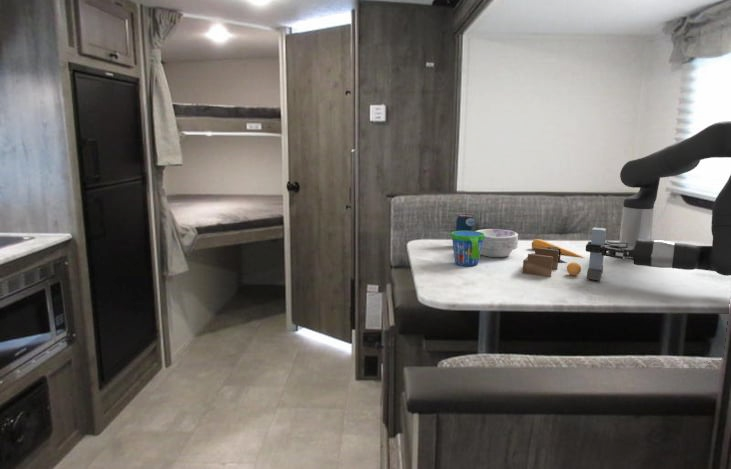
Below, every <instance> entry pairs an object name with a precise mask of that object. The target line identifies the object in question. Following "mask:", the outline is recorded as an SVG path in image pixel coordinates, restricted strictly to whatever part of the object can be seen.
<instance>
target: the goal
mask: <svg viewBox="0 0 731 469" xmlns="http://www.w3.org/2000/svg"><path fill="white" fill-rule="evenodd" d="M558 257H559V250H554V249H545V248H537V247H536V248H535V250H534V253H533V252H531V253H528V254H527V257H525V258H524V259H523V262H522V263H523V264H522V274H527V275H534V276H541V277H547V278H551V277H552V270H558V267H559V263H558Z"/></svg>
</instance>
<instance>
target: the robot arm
mask: <svg viewBox="0 0 731 469" xmlns="http://www.w3.org/2000/svg"><path fill="white" fill-rule="evenodd" d="M710 158H711V159H712V158H717V159H718V158H721V159H722V158H731V121H730V120H724V121H723V120H721V121H717V122H713V123H712V124H710V125H708V126H706V127H705V128H704V129H702V130H700V131H698V132H697V133H695V134H693V135H692V136H690V137H687V138H684V139H682V140H680V141H677V142H675V143H672V144H670V145H668V146H665V147H664V148H662V149H659V150H658V151H655V152H653V153H650V154H649V155H646V156H643V157H640V158H636V159H632V160H628V161H627V162H626V163H625V164H624V165H623V166H622V168H621V170H620V174H619V178H620V181H621V183H622V184H623V185H624V186H626V187H629V188H637V189H638V188H639V190H638V191H637V192H636V193H635V194H633V195H630V196H627V197H625V198H624V200H623V204H622V205H623V206H622V215H621V223H620V225H621V226H620V233H619V240H618V241H613V240H612V241H608V240H605V245H594V244H591V240H590V241H588V242H587V243H586V245H585V251H586V252H588V253H590V252H595V253H600V254H601V255H602V256H604V257H608V258H613V259H619V260H624V259H626V258H629V259H633V261H632V263H633V264H634V266H641V267H649V268H650V267H651V268H661V269H662V268H663V269H677V270H684V271H685V270H687V271H690V270H692V271H693V270H703V271H710V272H711V271H712V272H716V274H718V275H722V276H726V277H728V276H731V174H730V175H729V177H728V179H727V181H726V183H725V184H724V186H723V187H722V189H721V190H720V191H719V192H718V194H717V196H716V198H715V200H714V202H713V205H712V211H711V227H710V228H711V234H712V243H711V245H697V244H696V245H695V244H689V243H684V242H682V243H681V242H672V241H667V240H658V239H651V232H652V224H653V216H654V215H653V214H654V208H655V206H654V205H655V203H656V200H657V197H658V196H657V195H658V191H659V186H660V181H661V180H660V179H661V178H669V177H676V176H679V175H683V174H686V173H688V172H691V171H692V170H694V169H695V168H697V167H698V166H699V164H700V161H702V160H706V159H710Z"/></svg>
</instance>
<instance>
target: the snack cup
mask: <svg viewBox="0 0 731 469" xmlns="http://www.w3.org/2000/svg"><path fill="white" fill-rule="evenodd" d="M450 237H451V240H452V249H453V257H454V263H455V264H457V265H459V266H463V267H472V266H477V265H478V264H479V261H480V258H481V257H480V256H481V254H480V253H481V248H482V242H483V240H484V238H485V235H484V233H482V232H477V230H475V231H456V230H455V231H451V233H450Z"/></svg>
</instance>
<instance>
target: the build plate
mask: <svg viewBox="0 0 731 469" xmlns="http://www.w3.org/2000/svg"><path fill="white" fill-rule="evenodd" d="M547 249H554V250H559V257H558V264H567V263H568V262H567V261H565V260H564V259H561V252H560V251H561V249H559V248H557V247H548V248H547Z"/></svg>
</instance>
